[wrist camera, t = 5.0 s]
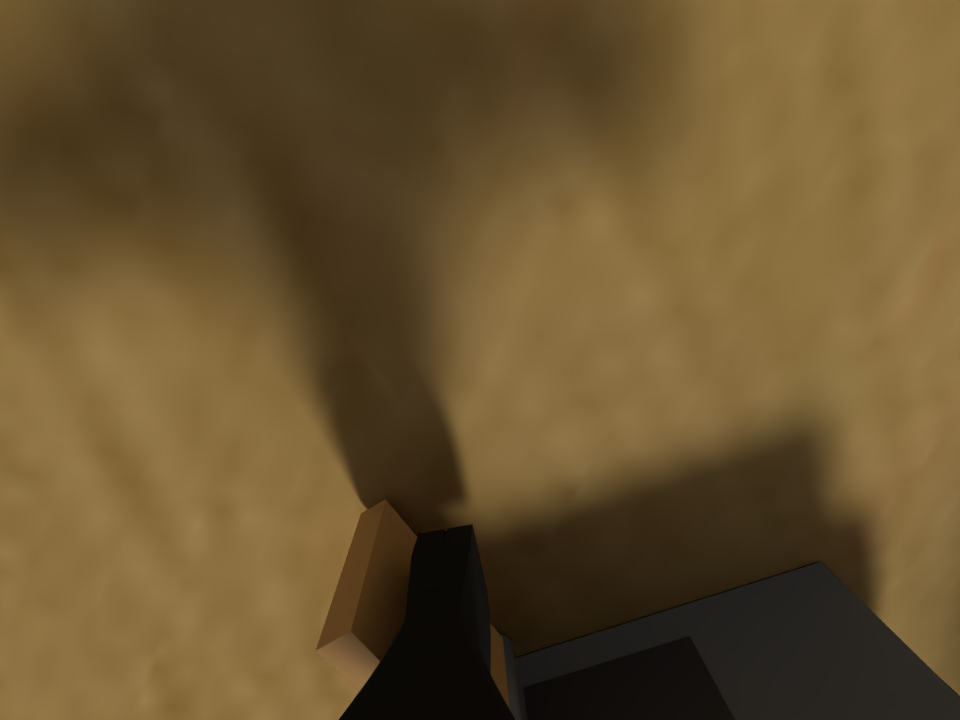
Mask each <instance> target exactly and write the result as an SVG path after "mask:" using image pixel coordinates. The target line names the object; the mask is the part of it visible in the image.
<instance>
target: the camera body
mask: <svg viewBox="0 0 960 720" xmlns="http://www.w3.org/2000/svg"><path fill="white" fill-rule="evenodd" d="M514 660H515V668H516V677H517V685H518V694H519V702H520V711H521V719H522V720H960V696H959V695H958V694H957V693H956V692H955V691H954V690H953V689H952V688H951V687H950V686H949V685H947V684H946V683H945V682H944V681H943V680H942V679H941V678H940V677H939V676H938V675H937V674H936V673H935V672H933V671H932V670H931V669H930V668H929V667H928V666H927V665H926V664H925V663H924V662H923V661H922V660H921V659H920V658H919V657H918V656H917V655H916V654H915V653H914V652H913V651H912V650H911V649H910V648H909V647H908V646H907V645H906V644H905V643H904V642H903V641H902V640H901V639H900V638H899V637H898V636H897V635H896V634H895V633H894V632H893V631H891V630H890V629H889V628H888V627H887V626H886V625H885V624H884V623H883V622H882V621H881V620H880V619H879V618H878V617H877V616H876V615H875V614H874V613H873V612H872V611H871V610H870V609H869V608H868V607H867V606H866V605H865V604H864V603H863V602H862V601H861V600H860V599H859V598H858V597H857V596H856V595H855V594H854V593H853V592H852V591H851V590H849V589H848V588H847V587H846V586H845V585H844V584H843V583H842V582H841V581H840V580H839V579H838V578H837V577H836V576H835V575H834V574H833V573H832V572H831V571H830V570H829V569H828V568H827V567H826V566H825V565H824V564H823V563H822V562H819V563H815V564H812V565H809V566H806V567H803V568H800V569H796V570H793V571H790V572H787V573H784V574H781V575H777V576H774V577H771V578H768V579H765V580H762V581H758V582H755V583H752V584H749V585H746V586H743V587H739V588H736V589H733V590H730V591H727V592H724V593H720V594H717V595H714V596H711V597H708V598H705V599H701V600H698V601H695V602H692V603H689V604H686V605H682V606H679V607H676V608H673V609H670V610H667V611H663V612H660V613H657V614H654V615H651V616H648V617H644V618H641V619H638V620H635V621H632V622H629V623H625V624H622V625H619V626H616V627H613V628H610V629H606V630H603V631H600V632H597V633H594V634H591V635H587V636H584V637H581V638H578V639H575V640H572V641H568V642H565V643H562V644H559V645H556V646H553V647H549V648H546V649H543V650H540V651H537V652H534V653H530V654H527V655H524V656H521V657H518V658H515V659H514Z"/></svg>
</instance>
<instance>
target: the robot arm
mask: <svg viewBox="0 0 960 720" xmlns="http://www.w3.org/2000/svg"><path fill="white" fill-rule="evenodd" d="M339 720H515V718H514V716H513V714H512V713H511V711H510V709H509V707H508V705H507V704H506V702H505V700H504V698H503V696H502V695H501V693H500V691H499V689H498V687H497V686H496V684H495V682H494V680H493V678H492V676H491V629H490V617H489V606H488V596H487V588H486V583H485V579H484V574H483V570H482V566H481V561H480V557H479V552H478V548H477V543H476V539H475V534H474V530H473V525H466V526H460V527H455V528H449V529H447V531H445V530H437V531H431V532H426V533H420V534H419V535H418V537H417V540H416V542H415V545H414V549H413V552H412V556H411V564H410V574H409V584H408V595H407V605H406V615H405V620H404V622H403V624H402V626H401V628H400V630H399V631H398V633H397V635H396V637H395V638H394V640H393V642H392V643H391V645H390V647H389V648H388V650H387V651H386V653H385V655H384V656H383V658H382V659H381V661H380V662H379V664H378V665H377V667H376V669H375V670H374V672H373V673H372V675H371V676H370V678H369V679H368V680H367V682H366V683H365V685H364V686H363V687H362V689H361V690H360V692H359V693H358V694H357V696H356V697H355V698H354V700H353V701H352V703H351V704H350V705H349V707H348V708H347V709H346V711H345V712H344V713H343V715H342V716H341V717H340V719H339Z"/></svg>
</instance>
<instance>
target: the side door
mask: <svg viewBox="0 0 960 720" xmlns="http://www.w3.org/2000/svg"><path fill="white" fill-rule="evenodd" d="M416 540H417V536H416V535H415V534H414V532H413V531H412V530H411V529H410V528H409V527H408V525H407V524H406V523H405V522H404V521H403V519H402V518H401V517H400V516H399V515H398V514H397V512H396V511H395V510H394V509H393V508H392V506H391V505H390V504H389V503H388V502H387V501H386V499H385V500H383V501H382V502H380V503H378V504H376V505H375V506H373V507H371V508H370V509H368V510H366V511H365V512H363V513H361V515H360V518H359V521H358V524H357V527H356V530H355V533H354V536H353V540H352V543H351V546H350V549H349V552H348V555H347V558H346V561H345V564H344V567H343V570H342V573H341V576H340V579H339V582H338V585H337V588H336V591H335V594H334V597H333V600H332V603H331V606H330V609H329V612H328V615H327V618H326V621H325V624H324V627H323V630H322V633H321V636H320V639H319V642H318V645H317V648H316V651H317V652H318V653H319V654H320V655H321V656H322V657H323V658H324V659H325V660H326V661H327V662H328V663H329V664H330V665H331V666H332V667H333V668H334V669H335V670H336V671H337V672H339V673H340V674H341V675H342V676H343V677H344V678H345V679H346V680H347V681H348V682H349V683H350V684H351V685H352V686H353V687H354V688H355V689H356V690H357V691H358V692H360V690H361V689H362V687H363V686H364V685H365V683H366V682H367V680H368V679H369V678H370V676H371V675H372V673H373V672H374V670H375V669H376V667H377V665H378V664H379V662H380V661H381V659H382V658H383V656H384V655H385V653H386V651H387V650H388V648H389V647H390V645H391V643H392V642H393V640H394V638H395V637H396V635H397V633H398V631H399V630H400V628H401V626H402V624H403V622H404V620H405V615H406V605H407V595H408V584H409V574H410V564H411V556H412V552H413V549H414V545H415V542H416ZM490 629H491V676H492V678H493V680H494V682H495V684H496V686H497V687H498V689H499V691H500V693H501V695H502V696H503V698H504V700H505V702H506V704H507V705H508V707H509V709H510V711H511V713H512V714H513V716H514V718H515V720H522V719H521V711H520V702H519V694H518V685H517V677H516V668H515V660H514V651H513V644H512V641H511V640H510V639H509V638H508V637H507V636H505V635H501V634H499V633H498V632H497V630H496V629H495V628H494V627H493V626H492V625H491V623H490Z"/></svg>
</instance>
